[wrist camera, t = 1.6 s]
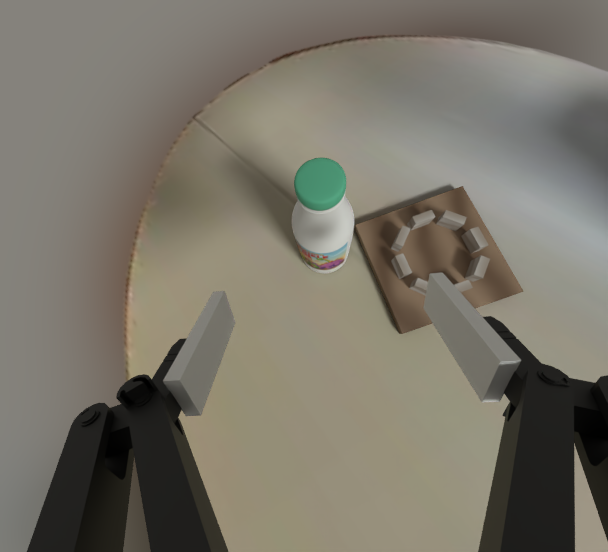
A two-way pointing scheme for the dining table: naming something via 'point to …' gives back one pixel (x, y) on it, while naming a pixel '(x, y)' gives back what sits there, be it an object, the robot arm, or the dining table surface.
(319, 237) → the milk bottle
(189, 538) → the robot arm
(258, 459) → the dining table surface
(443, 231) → the ring seat
